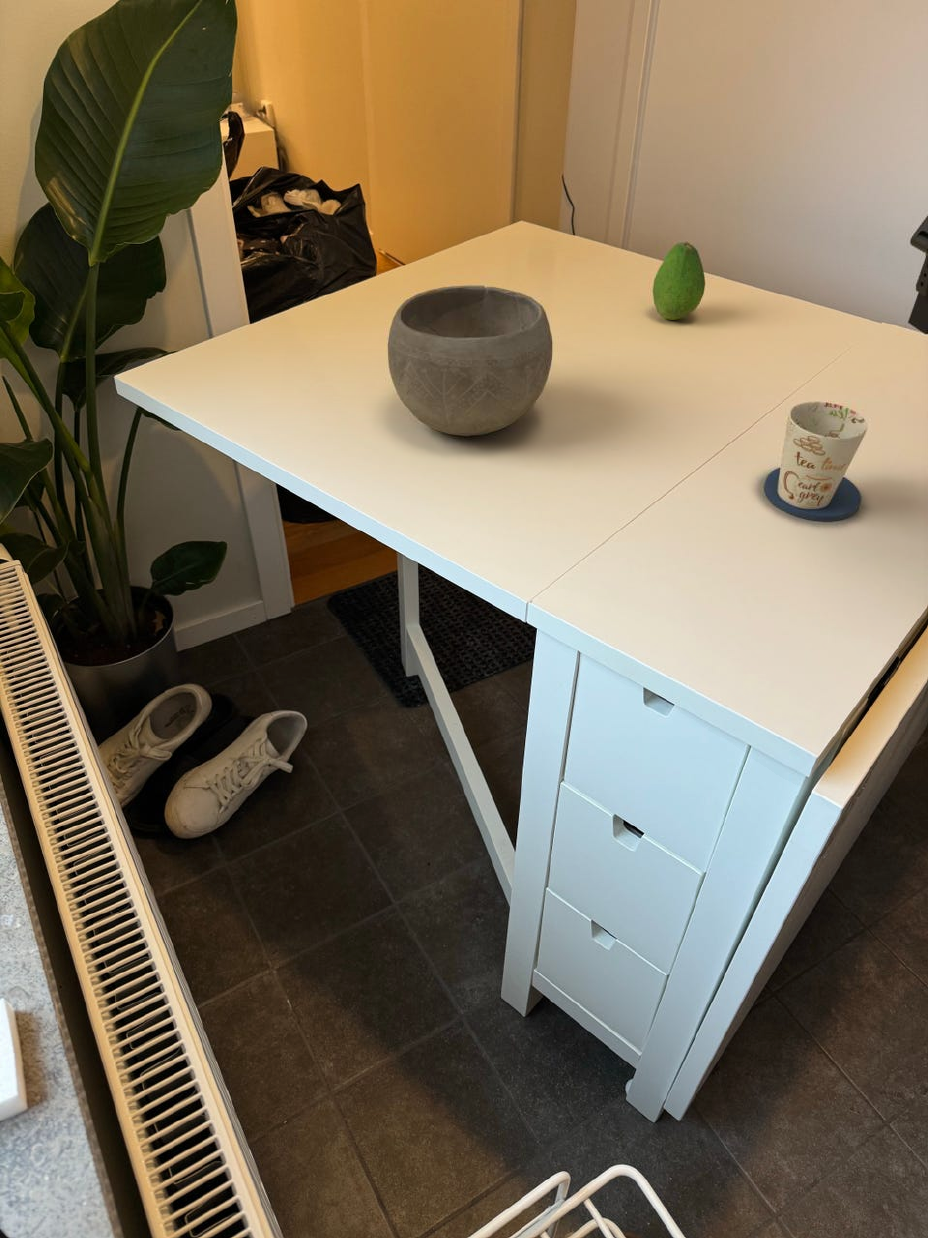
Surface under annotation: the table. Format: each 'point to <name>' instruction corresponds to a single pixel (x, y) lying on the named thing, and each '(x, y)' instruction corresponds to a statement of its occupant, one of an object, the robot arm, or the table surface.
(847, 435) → the mug
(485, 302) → the bowl
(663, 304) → the fruit
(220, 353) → the table surface
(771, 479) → the coaster
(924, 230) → the robot arm
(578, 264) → the table surface
